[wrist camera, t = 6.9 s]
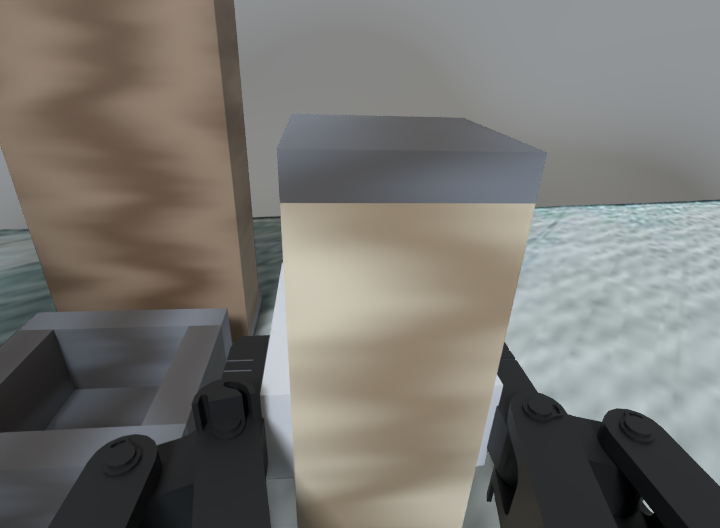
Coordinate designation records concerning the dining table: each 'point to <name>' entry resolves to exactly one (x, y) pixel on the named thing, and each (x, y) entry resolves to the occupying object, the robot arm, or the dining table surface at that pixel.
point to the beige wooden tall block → (396, 308)
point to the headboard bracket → (120, 229)
